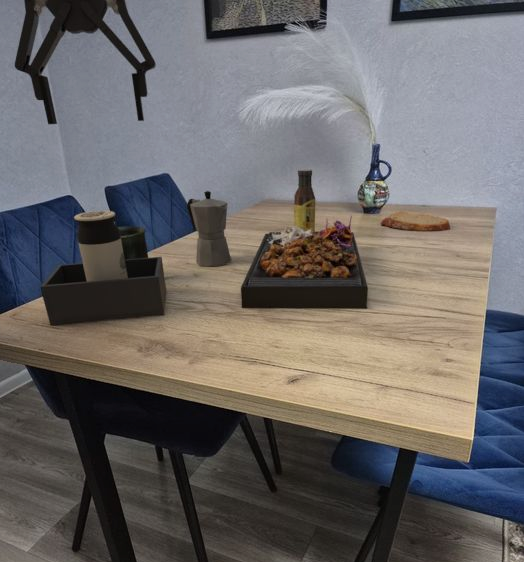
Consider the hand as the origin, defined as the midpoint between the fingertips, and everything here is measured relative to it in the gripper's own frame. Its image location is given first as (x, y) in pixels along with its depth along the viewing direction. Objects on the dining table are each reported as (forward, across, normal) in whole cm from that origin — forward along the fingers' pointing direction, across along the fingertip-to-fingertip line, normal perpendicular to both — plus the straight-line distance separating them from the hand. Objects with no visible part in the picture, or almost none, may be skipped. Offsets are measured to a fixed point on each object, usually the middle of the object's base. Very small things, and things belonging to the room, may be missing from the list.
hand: (97, 122), depth 75 cm
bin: (+34, +5, -10) cm, 36 cm away
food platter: (+34, -39, -20) cm, 56 cm away
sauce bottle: (+34, -47, -52) cm, 78 cm away
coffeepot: (+34, -18, -37) cm, 54 cm away
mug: (+35, +4, -25) cm, 43 cm away
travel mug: (+34, +5, -10) cm, 35 cm away
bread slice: (+34, -85, -58) cm, 109 cm away
